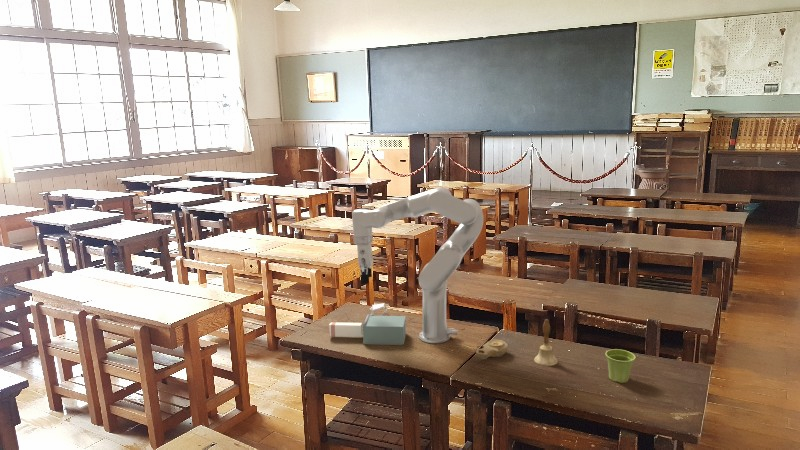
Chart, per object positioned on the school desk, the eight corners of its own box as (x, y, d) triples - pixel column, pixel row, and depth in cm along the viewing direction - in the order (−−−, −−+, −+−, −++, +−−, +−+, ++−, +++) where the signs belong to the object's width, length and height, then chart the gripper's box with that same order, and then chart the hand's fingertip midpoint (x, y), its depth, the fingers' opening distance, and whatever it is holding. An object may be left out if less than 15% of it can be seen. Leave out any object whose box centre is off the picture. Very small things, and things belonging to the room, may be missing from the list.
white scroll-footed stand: (371, 311, 256) (371, 301, 255) (389, 313, 254) (388, 302, 253) (363, 320, 245) (363, 310, 244) (381, 322, 243) (381, 311, 242)
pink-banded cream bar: (362, 334, 227) (362, 322, 226) (361, 337, 224) (360, 325, 223) (331, 333, 228) (330, 322, 227) (329, 336, 225) (329, 324, 224)
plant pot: (640, 383, 184) (641, 358, 182) (615, 387, 181) (617, 362, 180) (621, 371, 193) (623, 347, 191) (598, 374, 190) (599, 351, 189)
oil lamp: (474, 362, 202) (474, 349, 201) (482, 347, 215) (482, 335, 214) (503, 366, 198) (503, 353, 197) (510, 351, 211) (510, 338, 210)
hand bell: (544, 367, 196) (546, 325, 193) (529, 359, 203) (530, 317, 200) (562, 362, 200) (564, 321, 197) (546, 354, 207) (548, 314, 204)
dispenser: (405, 333, 230) (405, 314, 228) (403, 344, 218) (403, 325, 216) (367, 332, 231) (367, 314, 230) (363, 344, 219) (362, 324, 218)
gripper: (370, 243, 215) (373, 286, 218) (374, 234, 232) (377, 274, 235) (351, 244, 215) (354, 286, 218) (357, 235, 232) (360, 275, 235)
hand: (366, 280), depth 226 cm, fingers open, 9 cm apart
